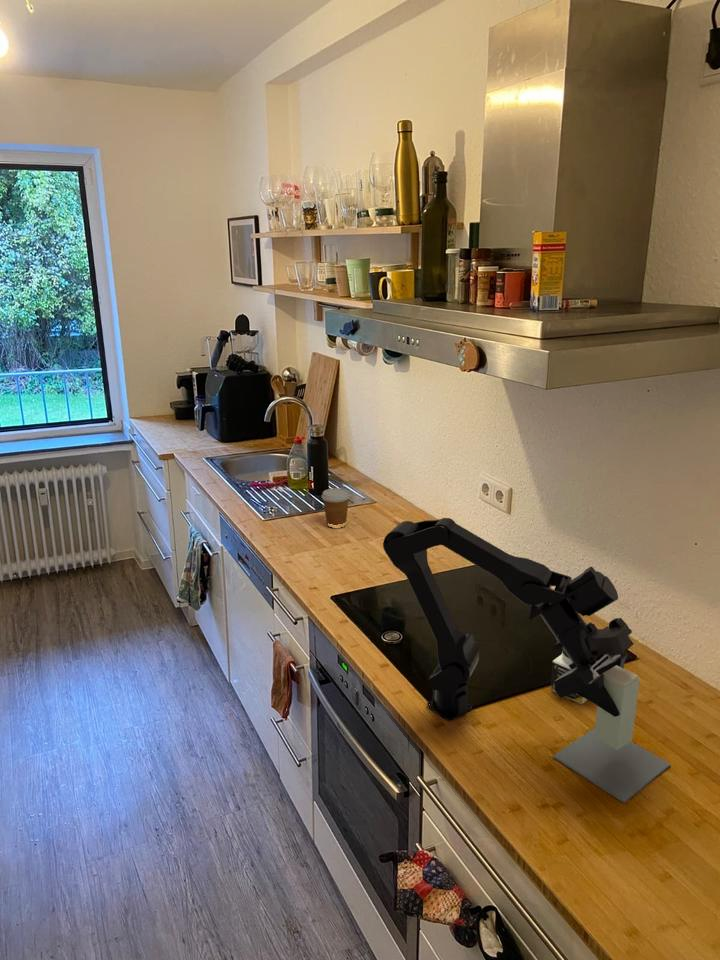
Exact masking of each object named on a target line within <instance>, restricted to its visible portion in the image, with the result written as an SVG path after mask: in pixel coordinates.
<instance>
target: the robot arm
mask: <svg viewBox="0 0 720 960" xmlns="http://www.w3.org/2000/svg"><path fill="white" fill-rule="evenodd" d="M439 546H443V547H445V548H446V549H448V550H450V551H451V552H452V553H454V554H456V555H458V556H460V557H461V558H463V559H465V560H466V561H468V562H470V563H472V564H473V565H475V566H477V567H479V568H480V569H482V570H483V571H485V572H486V573H488V574H490V575H492V576H494V577H495V578H496V579H498V580H499V581H500V582H501V584H502V585H503V586H504V587H505V590H507V591H508V592H509V593H510V594H511V595H513V597H515V599H517V600H518V601H520V602H521V603H522V604H524V605H526V606H529V607H530V609H529V614H528V620H530V621H532V620H533V619H535V618H537V617H538V616H540V617H541V618H542V620H543V621H544V623H545V624H546V625H547V627H548V629H549V630H550V632H551V633H552V635H554V637H555V639H556V641H557V642H556V643H555V644H554V646H555V648H556V650H558V651H559V650H560V649H562V648H563V649H564V651H565V652H566V654H567V655H568V657H569V658H570V659H571V661H572V663H571V664H570V665H569V667H570V669H571V670H570V671H568V672H566V673H564V674H563V675H561V676H560V677H559V678H558V679H556V680H555V681H554V684H553V689H554V690H555V692H556V693H555V692H554V693H555V694H556V695H557V697H558V698H559V699H560V700H561V699H563V698H566V697H565V696H567V695H569V694H571V693H572V694H573V695H574V694H578V695H580V696H582V697H583V698H585V699H587V701H589V702H591V703H592V704H593V705H595V706H596V707H597V706H599V707H600V708H602V709H603V710H605V711H606V712H608V713H609V714H611V715H612V716H614V717H616V716H619V715H620V713H619V711H618V709H617V707H616V705H615V703H614V702H613V700H612V698H611V697H610V695H609V693H608V692H607V690H606V688H605V687H604V674H602V673H604V672H606V671H607V670H609V669H611V668H613V667H614V666H616V665H617V666H619V667H621V668H623V669H625V662H626V659H627V657H628V653H626V651H627V650H629V649H630V648H631V647H633V645H634V642H633V641H632V639H631V637H630V635H631V634H632V633H633V631H632V629H631V628H629V625H628V624H627V623H626V622H625V621H624V620H623V617H616V618H613V619H612V620H610V621H609V622H608V626H605V627H604V628H600V629H599V628H598V627H597V626H596V625H595V624H594V623H592V621H591V622H588V623H586V621H584V619H583V618H582V617H585V616H588V617H591V616H593V615H595V614H596V613H598V612H599V611H601V610H603V609H604V608H606V607H607V606H610V605H611V604H613V603H614V602H616V601H618V600H619V594H618V591H617V588H616V587H615V585H614V584H613V582H612V581H611V579H610V578H609V577H608V576H607V575H604V574H603V572H600V571H598V570H597V571H596V570H595V568H594V567H593V566H589V567H588V568H586V569H584V571H583V572H582V573H580V574H579V575H577V576H576V577H574V578H572V577H571V576H569V575H566V574H563V573H560V572H557V571H554V570H551V569H550V568H549V567H547V566H546V565H544V564H542V563H541V562H537V561H535V560H532V559H529V558H526V557H520V556H515V555H512V554H509V553H507V552H506V551H504V550H502V549H500V548H499V547H497V546H495V545H493V544H492V543H490V542H488V541H487V540H485V539H483V538H481V537H480V536H478V535H477V534H475V533H473V532H471V531H469V529H466V528H465V527H462V526H461V525H459V524H458V523H456V521H455V520H453V519H452V518H450V517H442V518H440V519H429V520H427V519H426V520H421V521H417V522H413V521H409V520H405V521H402V522H400V523H398V524H397V525H396V526H394V527H393V529H392V530H390V531H389V532H388V533H387V534H386V535H385V537H384V539H383V542H382V547H383V551H384V552H385V554H386V556H387V557H388V559H389V560H390V561H391V563H392V565H393V566H394V567H395V568H397V569H398V570H399V571H400V572H402V573H403V574H404V576H405V577H406V579H407V581H408V583H409V585H410V587H411V590H412V592H413V594H414V596H415V598H416V600H417V602H418V604H419V607H420V609H421V611H422V613H423V615H424V618H425V619H426V622H427V624H428V626H429V628H430V631H431V633H432V635H433V637H434V638H435V642H436V654H437V656H436V657H437V658H436V659H437V662H438V664H437V666H436V668H435V669H434V670H433V672H432V674H431V675H430V677H429V678H428V681H429V685H430V687H431V689H432V700H430V701H428V702H427V703H426V706H427V705H428V706H429V707H430V708H429V707H428V706H427V707H428V708H429V709H431V710H432V709H433V710H435V711H436V712H437V714H438V713H439V714H441V715H442V716H443V717H442V716H441V715H440V716H441V717H442V718H444V719H445V720H446V721H452V720H454V719H456V718H458V717H459V716H461V715H463V714H464V713H467V712H469V711H471V710H472V708H473V706H472V704H470V703H468V698H469V697H468V695H469V692H468V691H467V690H468V689H467V688H468V686H467V685H468V683H467V681H469V679H470V677H471V676H472V674H473V673H474V670H475V668H476V667H477V664H478V663H479V660H480V655H479V654H480V653H479V652H480V650H481V648H479V647H478V645H477V643H476V641H475V637H474V635H473V633H472V632H469V633H467V634H465V633H463V632H462V631H461V630H460V629H459V628H458V626H457V624H456V621H455V619H454V618H453V615H452V613H451V611H450V609H449V606H448V605H447V603H446V601H445V597H444V596H443V593H442V591H441V589H440V587H439V585H438V583H437V580H436V577H435V576H434V573H433V572H432V570H431V567H430V565H429V561H428V549H431V548H433V547H439ZM552 587H554V589H552ZM598 667H599V668H598ZM597 668H598V669H597ZM595 669H597V670H596V672H597V673H598V674H599V675H600V676H597V674H596V673H595V671H594V670H595ZM429 704H430V705H429ZM433 710H432V711H433ZM435 711H434V712H435ZM436 712H435V713H436ZM439 714H438V715H439Z"/></svg>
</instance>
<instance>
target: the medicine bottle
mask: <svg viewBox="0 0 720 960" xmlns="http://www.w3.org/2000/svg"><path fill="white" fill-rule="evenodd" d="M561 649H562V650H561V654H560V655H559V656H558V657H556V658H554V659H553V660H552V667H551V681H550V682H551V683H550V690H551V692H553V693H555V694H557V693H556V692H555V690H554V689H553V684H554V681H555V680H556V679H558V678H559V677H560V676H561V675H563V674H564V673H566V672H568V671H570V670H571V669H570V667H569V665H570V664H571V663H572V661H571V659H570V658H569V657H568V655H567V654H566V652H565V651H564V649H563V648H561ZM598 668H599V667H598ZM598 668H597V669H598ZM597 669H595V670H594V671H595V673H596V674H597V676H600V675H599V674H598V673H597V672H596V670H597ZM564 698H567V699H569V700H571V701H572V702H575V703H578V704H579V705H583V704H585V703H586V702H587V701H588V700H587V699H585V698H583V697H582V696H580V695H578V694H574V695H573V694H572V693H571V694H569V695H567V696H565V697H564Z"/></svg>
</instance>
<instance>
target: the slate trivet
mask: <svg viewBox="0 0 720 960" xmlns="http://www.w3.org/2000/svg"><path fill="white" fill-rule="evenodd" d="M594 733H595V727H593V729H591V730H590V731H588V732H586V733H585V734H583V735H582V736H580V737H579V738H577V739H576V740H574V741H573V742H572V743H570V744H569V745H567V746H566V747H564V748H562V749H561V750H560V751H558V752H557V753H555V754H554V755H553V756H552V758H553V759H555V760H556V761H557V762H560V763H561V764H562V765H564V766H565V767H567V768H568V769H570V770H572V771H573V772H575V773H577V775H580V776H581V777H582V778H584V779H586V780H587V781H589V782H590V783H592V784H594V785H595V786H597V787H598V788H599V789H601V790H602V791H604V792H605V793H607V794H609V795H611V796H612V797H614V798H615V799H617V800H619V801H620V802H621V803H623V804H626V803H627V801H628V800H630V799H631V798H632V797H634V796H635V795H636V794H637V793H639V792H640V791H641V790H643V788H645V787H646V786H647V785H648V784H650V783H651V782H652V781H654V780H655V779H656V778H657V777H658V776H660V775H661V774H662V773H664V771H666V770H667V769H668V768H669V767H671V763H670V762H668V761H666V760H665V759H663V758H661V757H659V756H657V755H656V754H654V753H652V752H650V751H648V750H647V749H645V748H643V747H641V746H639V744H638V745H637V744H636V743H634V742H633V741H632V740H631V741H630V742H628V743H627V744H625V745H624V746H623V747H621V748H620V749H618V750H616V749H614V748H612V747H611V746H609V745H607V744H605V743H604V742H602V741H600V740H599V739H597V738H595V737H594Z"/></svg>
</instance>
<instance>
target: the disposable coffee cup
mask: <svg viewBox="0 0 720 960" xmlns="http://www.w3.org/2000/svg"><path fill="white" fill-rule="evenodd" d="M350 498H351V495H350V492H349V490H347V489H345V488H339V487H338V488H337V487H335V488H333V487H332V488H329V489H325V490H324V491H322V494H321V499H322V500H323V501H322V502H323V506H324V513H325V519H326V524H327V523H329V524H333V525H338V524H343V523H345V522H346V523H347V518H348V508H349V507H348V506H349V499H350Z"/></svg>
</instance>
